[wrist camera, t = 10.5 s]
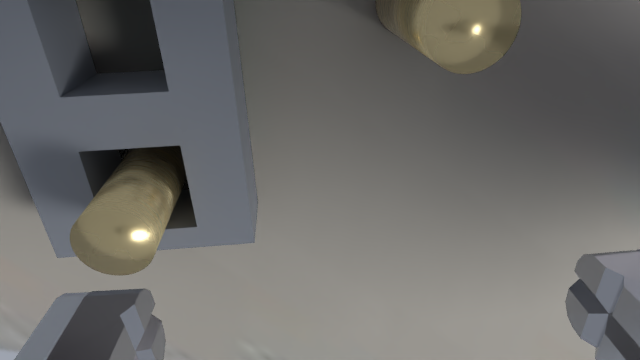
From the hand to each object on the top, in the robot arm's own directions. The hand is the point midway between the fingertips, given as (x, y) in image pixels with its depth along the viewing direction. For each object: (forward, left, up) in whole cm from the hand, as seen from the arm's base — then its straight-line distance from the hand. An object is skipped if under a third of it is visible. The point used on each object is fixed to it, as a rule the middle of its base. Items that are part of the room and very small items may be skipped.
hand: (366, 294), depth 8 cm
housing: (+9, 0, -16) cm, 18 cm away
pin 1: (+9, +4, -16) cm, 19 cm away
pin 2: (-5, -4, -16) cm, 17 cm away
